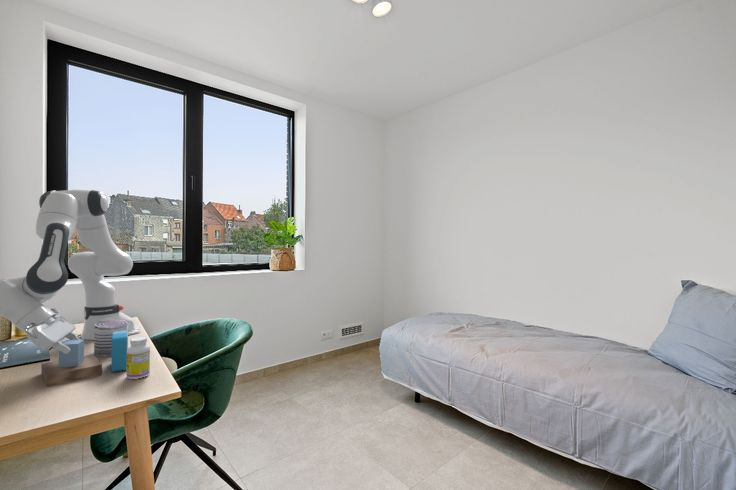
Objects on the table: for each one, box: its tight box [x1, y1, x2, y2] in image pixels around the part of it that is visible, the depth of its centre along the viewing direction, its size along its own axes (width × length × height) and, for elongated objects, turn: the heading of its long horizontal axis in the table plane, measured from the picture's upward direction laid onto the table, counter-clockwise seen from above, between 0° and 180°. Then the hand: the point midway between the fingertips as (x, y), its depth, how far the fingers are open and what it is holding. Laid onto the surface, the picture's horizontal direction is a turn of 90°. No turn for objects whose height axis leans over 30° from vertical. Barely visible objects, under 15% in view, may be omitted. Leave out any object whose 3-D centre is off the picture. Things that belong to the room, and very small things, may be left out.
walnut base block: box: [40, 354, 103, 388], centre depth 119 cm, size 14×14×4 cm
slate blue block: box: [58, 339, 85, 368], centre depth 119 cm, size 5×5×8 cm
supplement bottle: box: [125, 336, 151, 380], centre depth 119 cm, size 7×7×13 cm
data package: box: [110, 330, 129, 373], centre depth 127 cm, size 12×4×12 cm, turn 34°
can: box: [93, 320, 129, 357], centre depth 142 cm, size 11×11×12 cm
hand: (74, 347), depth 120 cm, fingers open, 8 cm apart
